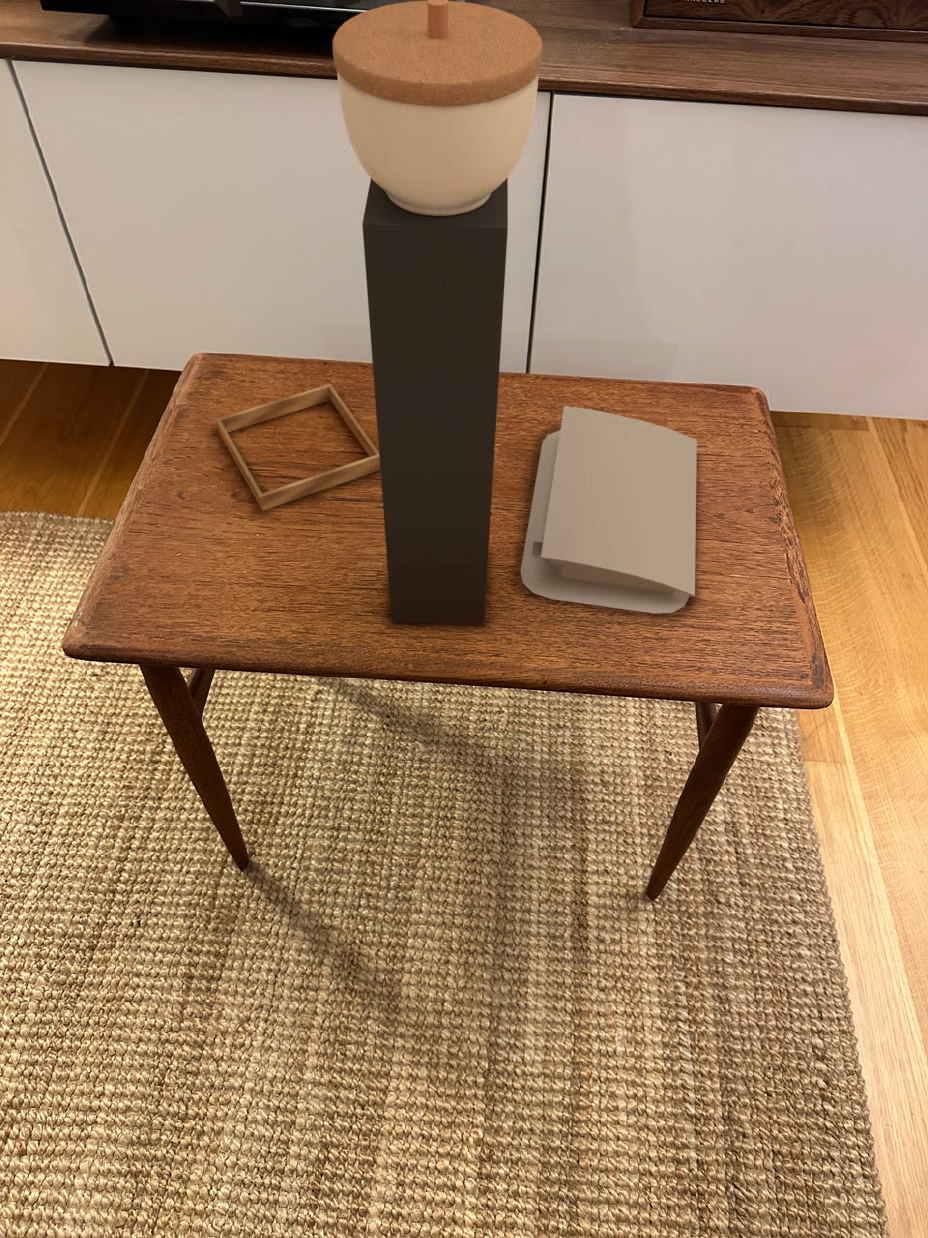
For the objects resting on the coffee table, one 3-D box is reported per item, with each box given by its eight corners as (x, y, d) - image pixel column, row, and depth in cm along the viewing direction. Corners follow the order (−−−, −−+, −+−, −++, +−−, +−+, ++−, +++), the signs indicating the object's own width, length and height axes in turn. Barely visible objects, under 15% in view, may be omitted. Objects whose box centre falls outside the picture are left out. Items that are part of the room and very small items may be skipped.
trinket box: (531, 148, 55) (545, -33, 48) (532, 242, 49) (547, 48, 41) (356, 141, 55) (343, -41, 48) (333, 234, 49) (313, 39, 41)
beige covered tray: (516, 594, 80) (519, 565, 77) (545, 426, 94) (548, 396, 91) (690, 618, 79) (700, 590, 76) (693, 445, 93) (701, 415, 90)
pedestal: (391, 622, 78) (362, 223, 49) (398, 554, 83) (375, 154, 54) (484, 626, 78) (507, 227, 49) (485, 556, 83) (507, 158, 54)
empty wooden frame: (262, 510, 86) (259, 497, 84) (219, 432, 93) (215, 419, 91) (382, 469, 90) (381, 455, 88) (332, 397, 96) (330, 383, 95)
